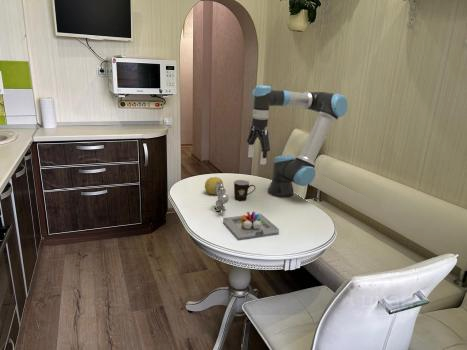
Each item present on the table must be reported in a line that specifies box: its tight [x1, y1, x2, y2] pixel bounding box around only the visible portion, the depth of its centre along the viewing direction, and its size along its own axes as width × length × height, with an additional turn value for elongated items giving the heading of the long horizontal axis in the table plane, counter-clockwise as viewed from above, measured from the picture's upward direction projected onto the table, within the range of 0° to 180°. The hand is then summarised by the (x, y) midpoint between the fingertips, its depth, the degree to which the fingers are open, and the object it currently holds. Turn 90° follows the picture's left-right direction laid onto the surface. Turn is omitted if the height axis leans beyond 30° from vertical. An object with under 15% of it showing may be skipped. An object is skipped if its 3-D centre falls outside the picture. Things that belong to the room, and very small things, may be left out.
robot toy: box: [215, 182, 229, 213], centre depth 177 cm, size 15×6×15 cm, turn 13°
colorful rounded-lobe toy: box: [241, 210, 262, 229], centre depth 162 cm, size 8×10×7 cm
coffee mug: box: [233, 179, 256, 202], centre depth 196 cm, size 12×9×10 cm
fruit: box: [204, 176, 224, 196], centre depth 202 cm, size 10×11×10 cm
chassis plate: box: [222, 213, 280, 241], centre depth 162 cm, size 20×18×2 cm
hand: (256, 160), depth 177 cm, fingers open, 13 cm apart
